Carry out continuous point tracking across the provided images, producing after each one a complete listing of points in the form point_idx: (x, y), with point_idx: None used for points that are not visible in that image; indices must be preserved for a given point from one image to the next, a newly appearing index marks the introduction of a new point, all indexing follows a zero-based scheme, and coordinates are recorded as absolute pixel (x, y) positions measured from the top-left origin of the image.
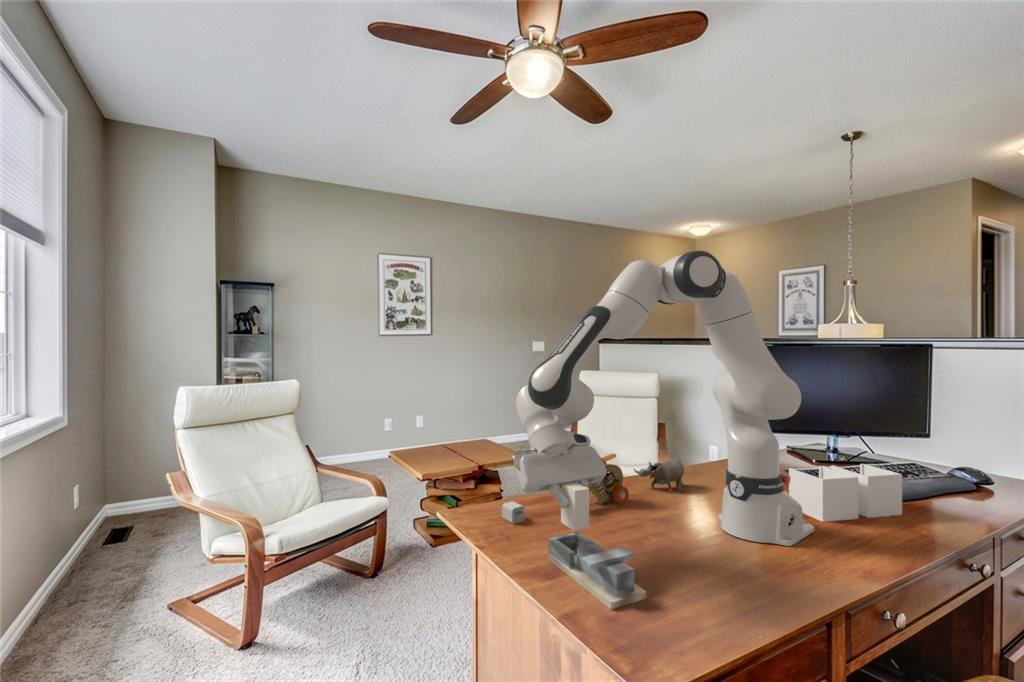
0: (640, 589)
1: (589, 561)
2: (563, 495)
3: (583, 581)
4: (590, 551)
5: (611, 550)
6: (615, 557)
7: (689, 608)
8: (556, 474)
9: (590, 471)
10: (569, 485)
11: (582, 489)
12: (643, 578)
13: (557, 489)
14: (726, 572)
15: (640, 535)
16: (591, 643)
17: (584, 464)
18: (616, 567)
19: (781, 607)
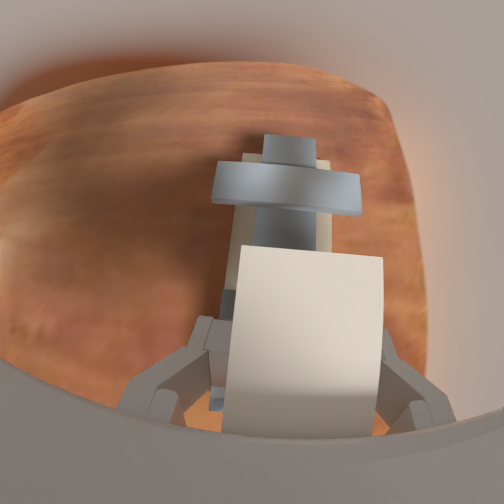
0: (247, 161)
1: (353, 185)
2: (386, 364)
3: (331, 242)
4: (297, 248)
5: (257, 198)
6: (278, 166)
7: (209, 118)
8: (447, 482)
9: (33, 417)
10: (337, 398)
11: (309, 253)
12: (186, 210)
13: (427, 395)
14: (68, 163)
15: (40, 353)
16: (395, 139)
17: (23, 494)
18: (296, 154)
19: (117, 89)
